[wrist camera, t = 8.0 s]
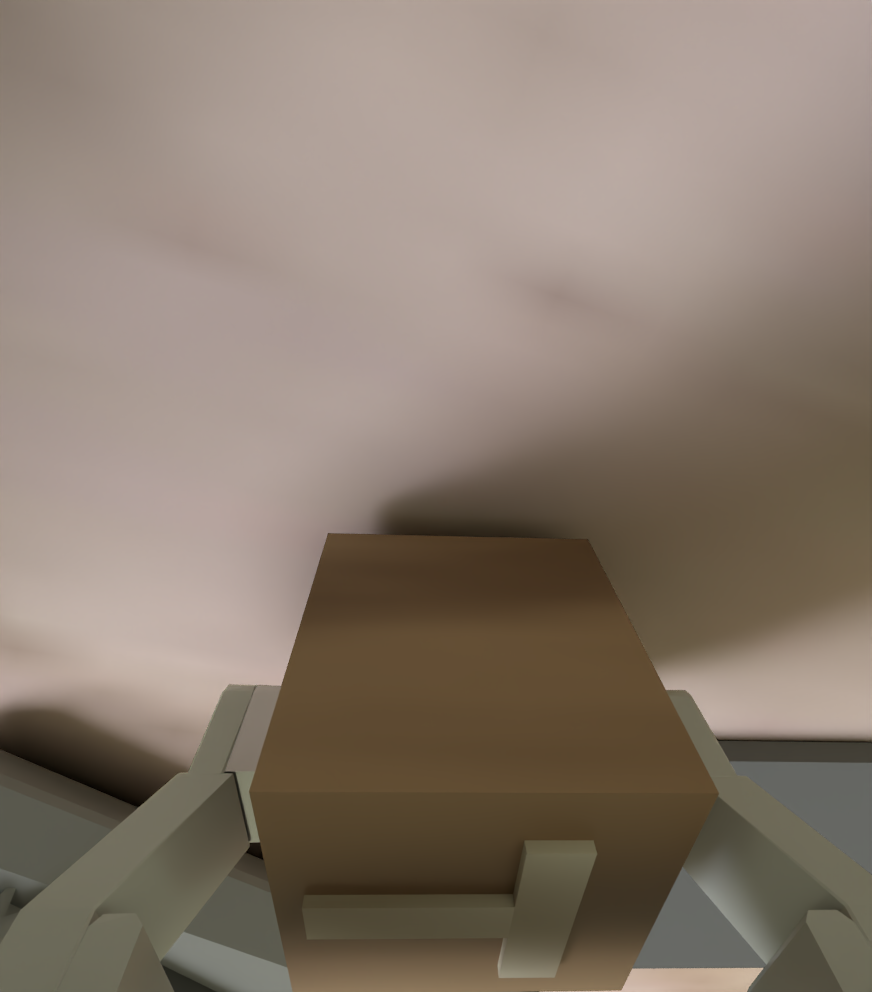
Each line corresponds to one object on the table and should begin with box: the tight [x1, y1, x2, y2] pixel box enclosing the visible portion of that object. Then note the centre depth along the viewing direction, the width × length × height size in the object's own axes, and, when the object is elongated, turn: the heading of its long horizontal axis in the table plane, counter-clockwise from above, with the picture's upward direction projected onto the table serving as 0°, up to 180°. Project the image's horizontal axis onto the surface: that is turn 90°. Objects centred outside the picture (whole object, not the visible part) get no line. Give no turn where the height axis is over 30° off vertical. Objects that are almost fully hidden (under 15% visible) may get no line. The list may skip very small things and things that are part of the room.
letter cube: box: [249, 533, 719, 992], centre depth 9 cm, size 5×5×5 cm
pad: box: [633, 741, 872, 968], centre depth 16 cm, size 12×12×1 cm
